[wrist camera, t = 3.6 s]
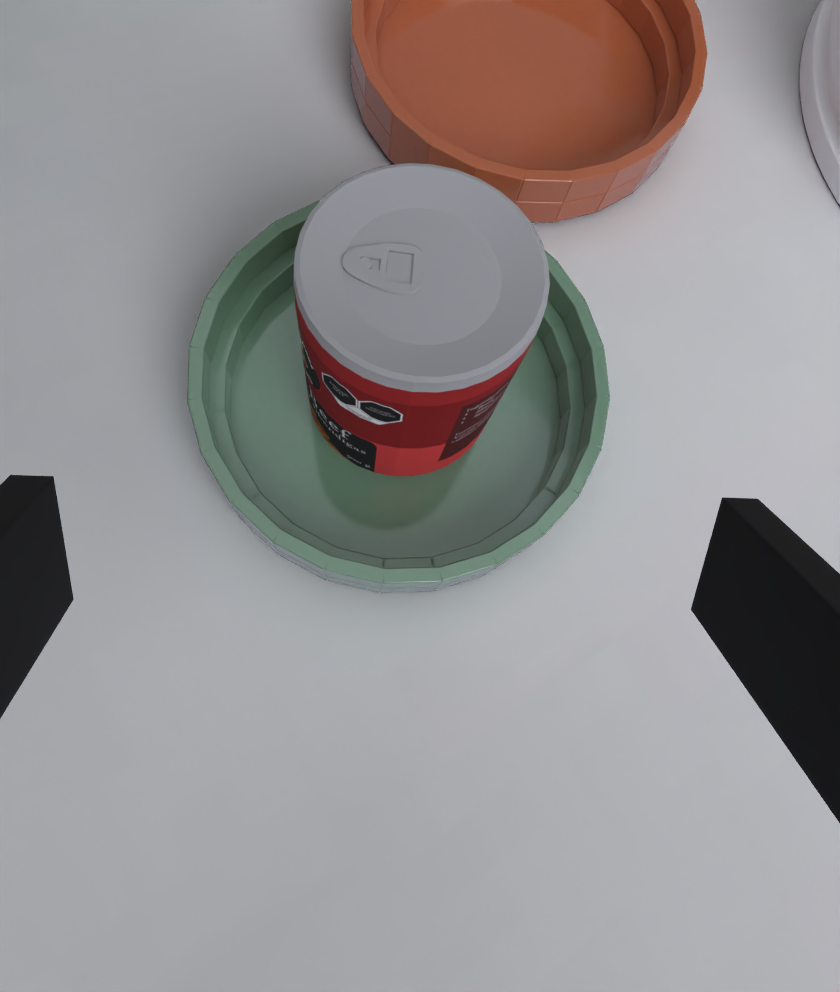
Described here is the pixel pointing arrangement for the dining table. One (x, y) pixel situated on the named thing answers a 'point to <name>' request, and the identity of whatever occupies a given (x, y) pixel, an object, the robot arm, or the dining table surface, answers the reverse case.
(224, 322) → the sage bowl
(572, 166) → the terracotta bowl
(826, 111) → the plate stack
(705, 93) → the dining table surface
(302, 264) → the canned food
